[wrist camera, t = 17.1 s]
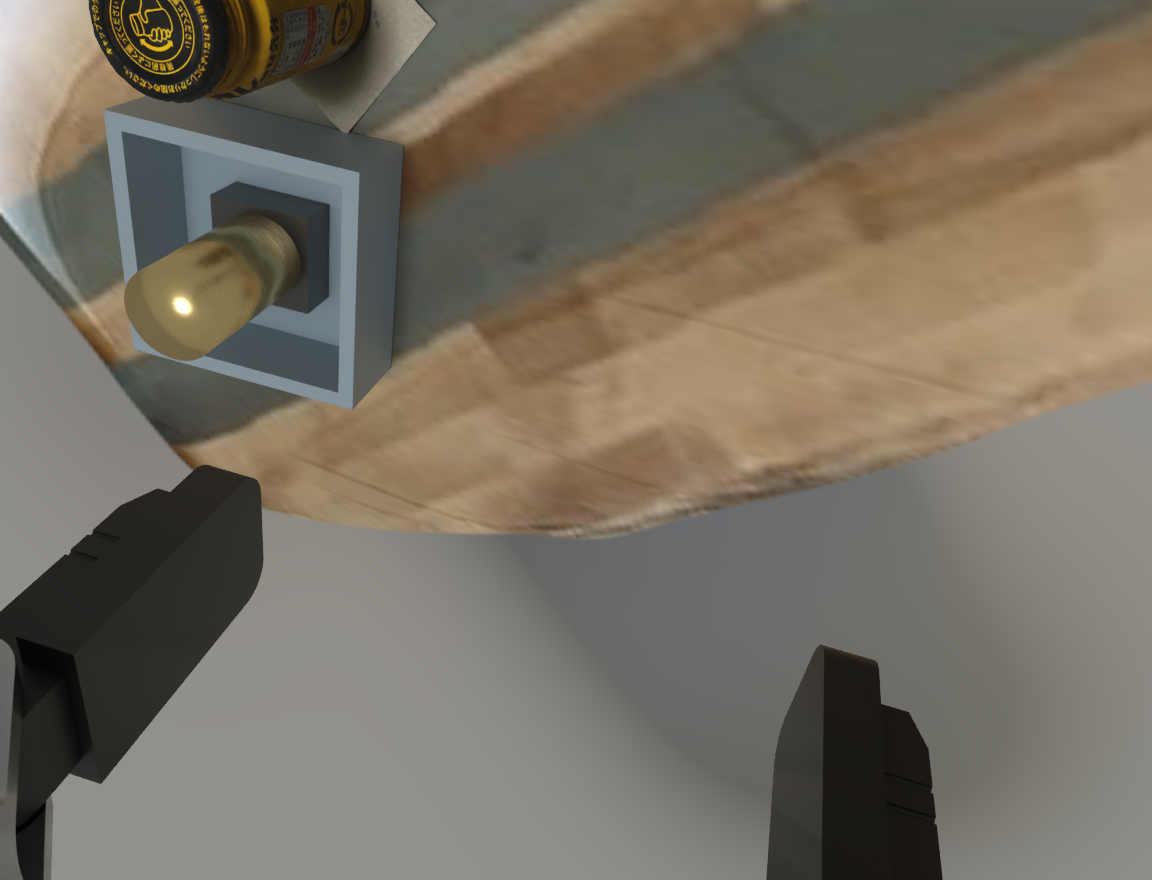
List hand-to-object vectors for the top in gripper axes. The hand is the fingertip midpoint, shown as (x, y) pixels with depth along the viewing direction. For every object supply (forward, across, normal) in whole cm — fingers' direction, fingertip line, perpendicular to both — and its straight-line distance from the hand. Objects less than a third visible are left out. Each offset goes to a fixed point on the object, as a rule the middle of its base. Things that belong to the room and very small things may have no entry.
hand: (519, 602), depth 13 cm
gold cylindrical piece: (+32, +21, +12) cm, 41 cm away
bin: (+33, +22, +12) cm, 41 cm away
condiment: (+33, +20, 0) cm, 39 cm away
